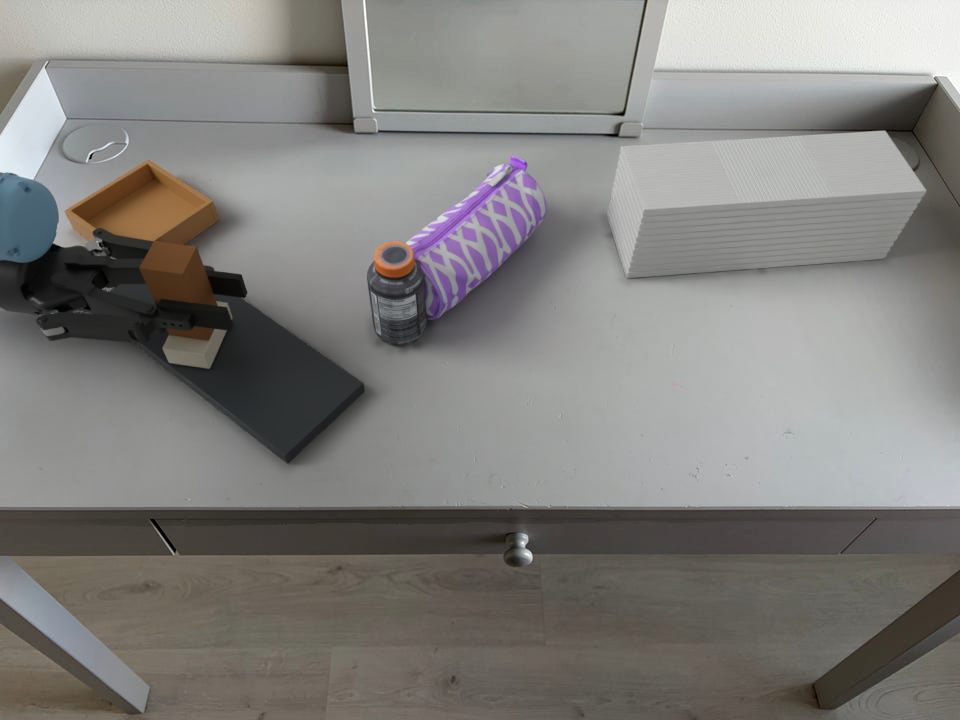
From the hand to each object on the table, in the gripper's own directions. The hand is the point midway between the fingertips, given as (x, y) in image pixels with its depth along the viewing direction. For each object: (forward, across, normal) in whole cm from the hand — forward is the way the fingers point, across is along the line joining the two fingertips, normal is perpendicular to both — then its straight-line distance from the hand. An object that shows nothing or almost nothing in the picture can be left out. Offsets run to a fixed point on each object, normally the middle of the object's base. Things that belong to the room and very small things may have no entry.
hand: (235, 302), depth 76 cm
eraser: (-5, 0, -7) cm, 9 cm away
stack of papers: (+53, -27, -9) cm, 60 cm away
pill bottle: (+14, -7, -9) cm, 18 cm away
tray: (-19, -17, -9) cm, 27 cm away
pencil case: (+21, -17, -9) cm, 28 cm away
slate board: (-3, 0, -9) cm, 9 cm away
